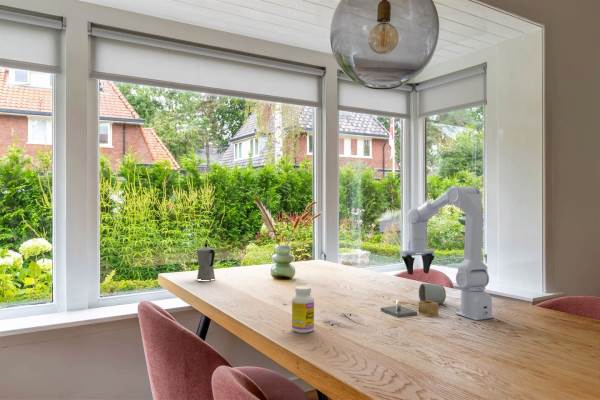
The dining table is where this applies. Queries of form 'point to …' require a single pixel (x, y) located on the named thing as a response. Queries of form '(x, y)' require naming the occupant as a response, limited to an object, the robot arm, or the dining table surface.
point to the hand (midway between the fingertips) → (418, 273)
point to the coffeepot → (206, 263)
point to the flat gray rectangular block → (398, 310)
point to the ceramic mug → (432, 293)
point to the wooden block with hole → (428, 308)
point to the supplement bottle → (303, 310)
